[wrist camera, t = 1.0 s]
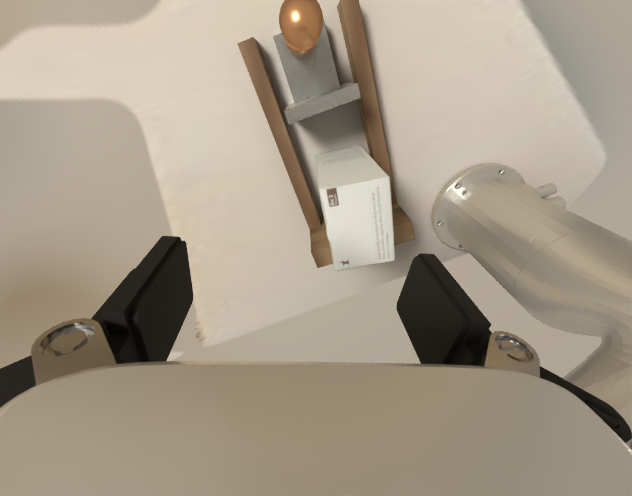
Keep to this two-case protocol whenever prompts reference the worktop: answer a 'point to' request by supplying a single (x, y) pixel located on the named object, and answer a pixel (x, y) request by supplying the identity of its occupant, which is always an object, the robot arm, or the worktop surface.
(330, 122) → the worktop surface
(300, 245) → the worktop surface
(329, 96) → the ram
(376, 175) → the skincare box
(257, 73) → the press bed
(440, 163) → the worktop surface
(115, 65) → the worktop surface
